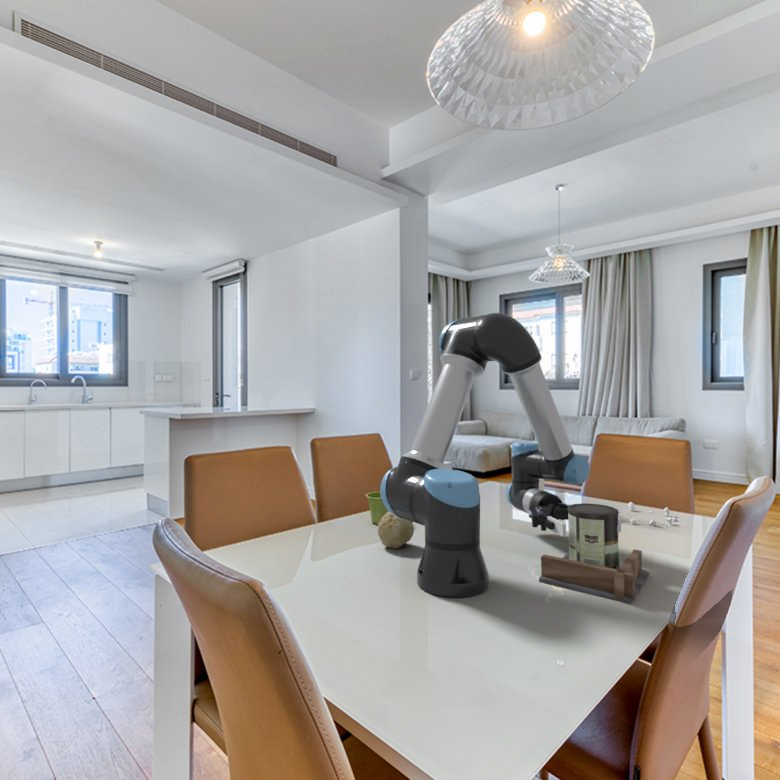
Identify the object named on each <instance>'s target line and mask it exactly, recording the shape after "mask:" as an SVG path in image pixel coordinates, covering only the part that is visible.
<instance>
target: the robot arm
mask: <svg viewBox="0 0 780 780" xmlns="http://www.w3.org/2000/svg"><path fill="white" fill-rule="evenodd" d="M438 347H439V350H438V351H439V353H440V357H439V359H440V360H439V361H440V363H441V365H442V368H441V369H442V370H441V372H440V374H439V376H438V379H437V382H436V384H435V388H434V390H433V392H432V395H431V397H430V399H429V401H428V405H427V407H426V410H425V412H424V415H423V417H422V420H421V423H420V425H419V428H418V430H417V433H416V435H415V438H414V441H413V443H412V446H411V449H410V450H409V452H406V453H404V454H402V456H401V457H400V459H399V462H398V465H397V466H395V467H392V468H391V469H389V470H388V471H387V472H386V473H385V474H384V475H383V477H382V480H381V484H380V491H379V492H380V493H381V499H382V501H383V504H384V506H385V507H386V509H387V510H388V511H389V512H391V513H392V514H394V515H396V516H397V517H399V518H402V519H407V520H409V521H412V522H413V523H415V524H418V525H421V526H424V548H423V552H422V555H421V558H420V562H419V565H418V568H417V571H416V577H417V579H416V581H417V585H418V587H419V588H420V589H422V590H423V591H425V592H426V593H429V594H432V595H436V596H441V597H449V598H466V597H472V596H476V595H479V594H482V593H484V592H485V591H486V590H487V589H488V588H489V585H490V576H489V575H490V574H489V571H488V568H487V565H486V562H485V559H484V556H483V552H482V550H481V536H480V535H481V522H480V521H481V495H480V486H479V484H480V483H479V481H478V480H477V478H476V477H475V476H473V475H472V474H471V473H468V472H465V471H462V470H458V469H451V468H445V467H444V466H445V465H444V464H445V461H446V458H447V456H448V452H449V450H450V448H451V444H452V443H453V442H452V441H453V439H454V436H455V433H456V432H457V431H456V430H457V428H458V426H459V423H460V420H461V417H462V414H463V411H464V409H465V407H466V404H467V401H468V399H469V396H470V393H471V389H472V387H473V385H474V383H475V379H477V378H479V377H481V376H483V375H484V372H485V370H486V367H487V364H488V362H497V363H498V364H499V366H501V370H502V372H503V373H504V374H506V375H508V376H509V378H510V380H511V382H512V385H513V387H514V389H515V391H516V394H517V397H518V399H519V401H520V403H521V404H520V405H521V406H522V408H523V410H524V414H525V415H526V418H527V420H528V422H529V423H528V424H529V426H530V428H531V431H532V432H533V436H534V437H535V439H536V442H533V441H516V442H514V443H513V444H511V445H512V446H511V455H510V456H511V457H510V458H511V459H510V460H511V483H510V484H509V485H508V487H507V488H506V491H505V496H506V500H507V502H508V503H509V504H510V505H511V506H513V507H514V508H515V509H517V510H519V511H522V512H524V513H525V514H528V518H530V519H531V525H532V528H538V527H539V526H540V531H543V532H546V531H547V529H548V530H550V531H551V532H554V533H555V534H558V535H559V536H560V537H566V536H567V524H566V523H565V522H564V520H565V521H566V520H567V521H568V506H570V505H571V504H566V503H564V502H563V501H562V499H561V498H560V496H558V495H556V494H553V493H551V492H549V491H547V490H545V489H544V490H541V489H539V478H540V479H544V480H546V481H547V480H548V481H551V482H552V481H553V482H558V483H563V484H567V485H568V484H569V485H582V484H584V483H585V482H586V481H587V479H588V478H589V475H590V471H591V470H590V464H589V461H588V459H587V458H586V457H585V456H583V455H580V454H575V452H574V449H573V447H572V445H571V442H570V439H569V437H568V434H567V431H566V429H565V425H564V424H563V420H562V419H561V416H560V414H559V413H560V412H559V411H558V408H557V405H556V403H555V400H554V398H553V395H552V393H551V391H550V388H549V385H548V382H547V380H546V377H545V375H544V372H543V369H542V367H541V364H540V362H541V360H542V355H541V352H540V349H539V347H538V345H537V343H536V341H535V340H534V338H533V336H532V335H531V333H530V332H529V331H528V330H527V329H526V328H525V326H523V324H522V323H520V322H519V321H518V320H517V319H515V318H514V317H513V316H510V315H508V314H506V313H502V312H492V313H488V314H484V315H477V316H472V317H463V318H462V317H461V318H458V319H457V320H454V321H451V322H450V323H448V324H447V325H446V326H445V327H444V328H443V329H442V331H441V333H440V334H439V338H438ZM537 442H538V443H537ZM539 447H540V449H541V451H539V450H540V449H539ZM561 520H562V521H561ZM621 532H622V519H621V518H620V519H618V533H621Z"/></svg>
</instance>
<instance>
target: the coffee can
mask: <svg viewBox="0 0 780 780" xmlns="http://www.w3.org/2000/svg"><path fill="white" fill-rule="evenodd" d="M569 505H570V506H568V520H567V521H568V522H567V523H568V555H569V560H574V561H579V562H584V563H589V564H594V565H599V566H604V567H609V568H614V569H619V565H620V563H619V562H620V560H619V559H620V558H619V532H618V517H619V514H620V513H619V511H620V510H618V508H617V507H614V506H613V507H610V506H611V505H607V504H606V505H605V504H599V503H588V502H587V503H583V502H582V503H572V504H569ZM616 508H617V509H616Z"/></svg>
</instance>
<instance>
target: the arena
mask: <svg viewBox="0 0 780 780" xmlns="http://www.w3.org/2000/svg"><path fill="white" fill-rule="evenodd" d="M540 556H541V557H540V559H541V561H540V562H541V563H540V566H541V567H540V569H541V571H540V572H541V575H540V577H538V582H540V583H543V584H547V585H548V584H549V585H551V586H552V585H553V586H556V587H561V588H564V589H569V590H572V591H576V592H577V591H578V592H581V593H585V594H589V595H594V596H597V597H602V598H606V599H609V600H614V601H618V602H623V603H627V604H630V605H631V604H633V602H634V600H635V599H636V597H637V595H638V594H639V592H640V591H641V588H642V587H643V586H644V584H645V582H646V580H647V579H648V578H649V576H650V570H646V569H643V550H640V549H635V548H634V549H632V551H631V552H630V554H628V556H627V557H626V559H625V560H624V561H623V562H622V564H619V569H614V568H609V567H604V566H599V565H594V564H589V563H584V562H579V561H574V560H569V554H565V555H564V556H563V557H559V556H554V555H550V554H543V555H540Z"/></svg>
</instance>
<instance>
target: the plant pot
mask: <svg viewBox="0 0 780 780" xmlns="http://www.w3.org/2000/svg"><path fill="white" fill-rule="evenodd" d="M365 496H366V498H367V502H368V505H369V513H370V519H371V523H372V524H375V525H378V524H379V522H380V520H381V518H382V517H383V516H384V515H385V514H386V513H387V512H389V511H388V510H387V509H386V507H385V506H384V504H383V501H382V499H381V493H380V491H373V492H369V493H367V494H365Z"/></svg>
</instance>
